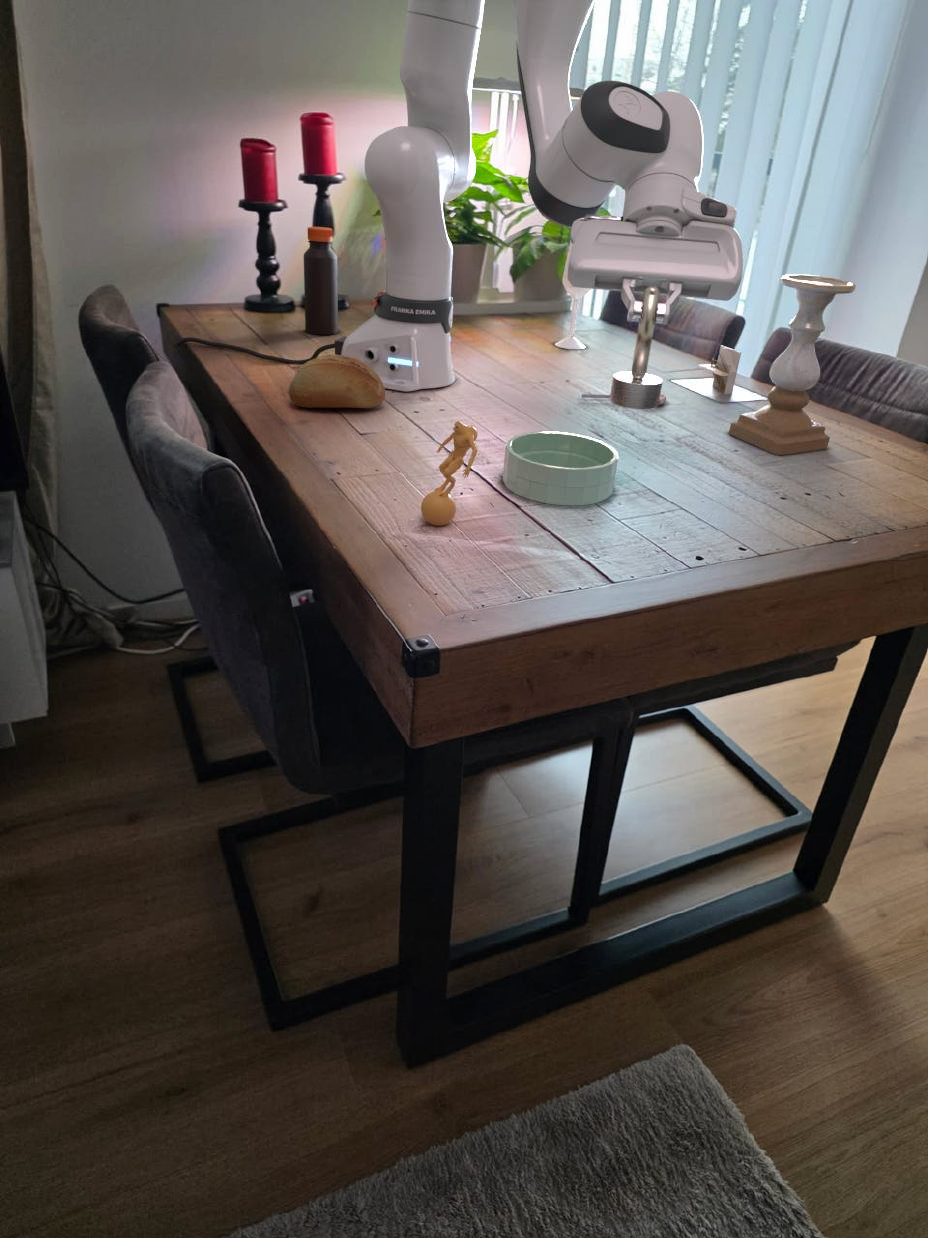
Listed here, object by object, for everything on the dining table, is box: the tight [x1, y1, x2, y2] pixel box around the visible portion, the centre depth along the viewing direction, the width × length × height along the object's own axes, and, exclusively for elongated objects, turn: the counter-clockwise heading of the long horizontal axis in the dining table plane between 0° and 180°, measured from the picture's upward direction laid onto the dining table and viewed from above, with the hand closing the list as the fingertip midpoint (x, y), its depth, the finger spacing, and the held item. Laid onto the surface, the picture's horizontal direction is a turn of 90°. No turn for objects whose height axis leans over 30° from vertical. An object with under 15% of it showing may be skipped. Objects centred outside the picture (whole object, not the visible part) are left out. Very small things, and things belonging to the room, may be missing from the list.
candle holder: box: [728, 274, 857, 456], centre depth 128 cm, size 11×11×24 cm
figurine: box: [420, 420, 478, 527], centre depth 95 cm, size 8×6×12 cm
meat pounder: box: [609, 285, 664, 410], centre depth 102 cm, size 6×6×14 cm
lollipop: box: [581, 393, 667, 406], centre depth 148 cm, size 7×1×15 cm
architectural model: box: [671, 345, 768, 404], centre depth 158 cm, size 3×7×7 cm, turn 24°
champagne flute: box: [554, 240, 592, 350], centre depth 178 cm, size 7×7×24 cm
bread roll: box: [288, 354, 386, 409], centre depth 132 cm, size 10×15×8 cm, turn 97°
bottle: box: [303, 226, 339, 336], centre depth 175 cm, size 7×7×20 cm
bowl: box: [502, 431, 619, 507], centre depth 110 cm, size 14×14×5 cm
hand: (648, 319), depth 99 cm, fingers closed on meat pounder
